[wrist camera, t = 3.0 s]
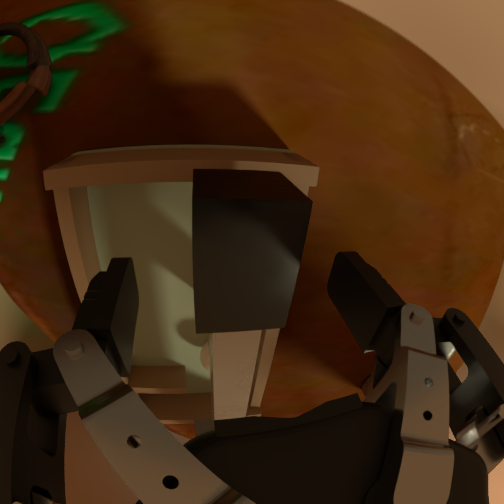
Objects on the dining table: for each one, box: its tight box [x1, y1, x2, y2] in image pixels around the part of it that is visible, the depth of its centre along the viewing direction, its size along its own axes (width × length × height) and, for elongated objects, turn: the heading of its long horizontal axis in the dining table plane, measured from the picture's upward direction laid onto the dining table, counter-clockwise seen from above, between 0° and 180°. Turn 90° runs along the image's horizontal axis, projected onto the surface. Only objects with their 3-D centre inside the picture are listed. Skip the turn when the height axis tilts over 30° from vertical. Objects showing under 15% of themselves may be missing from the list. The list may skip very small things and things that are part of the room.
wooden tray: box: [43, 145, 320, 436], centre depth 20 cm, size 16×30×12 cm, turn 174°
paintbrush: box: [192, 169, 313, 429], centre depth 21 cm, size 4×33×9 cm, turn 174°
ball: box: [200, 341, 210, 372], centre depth 25 cm, size 4×4×4 cm
